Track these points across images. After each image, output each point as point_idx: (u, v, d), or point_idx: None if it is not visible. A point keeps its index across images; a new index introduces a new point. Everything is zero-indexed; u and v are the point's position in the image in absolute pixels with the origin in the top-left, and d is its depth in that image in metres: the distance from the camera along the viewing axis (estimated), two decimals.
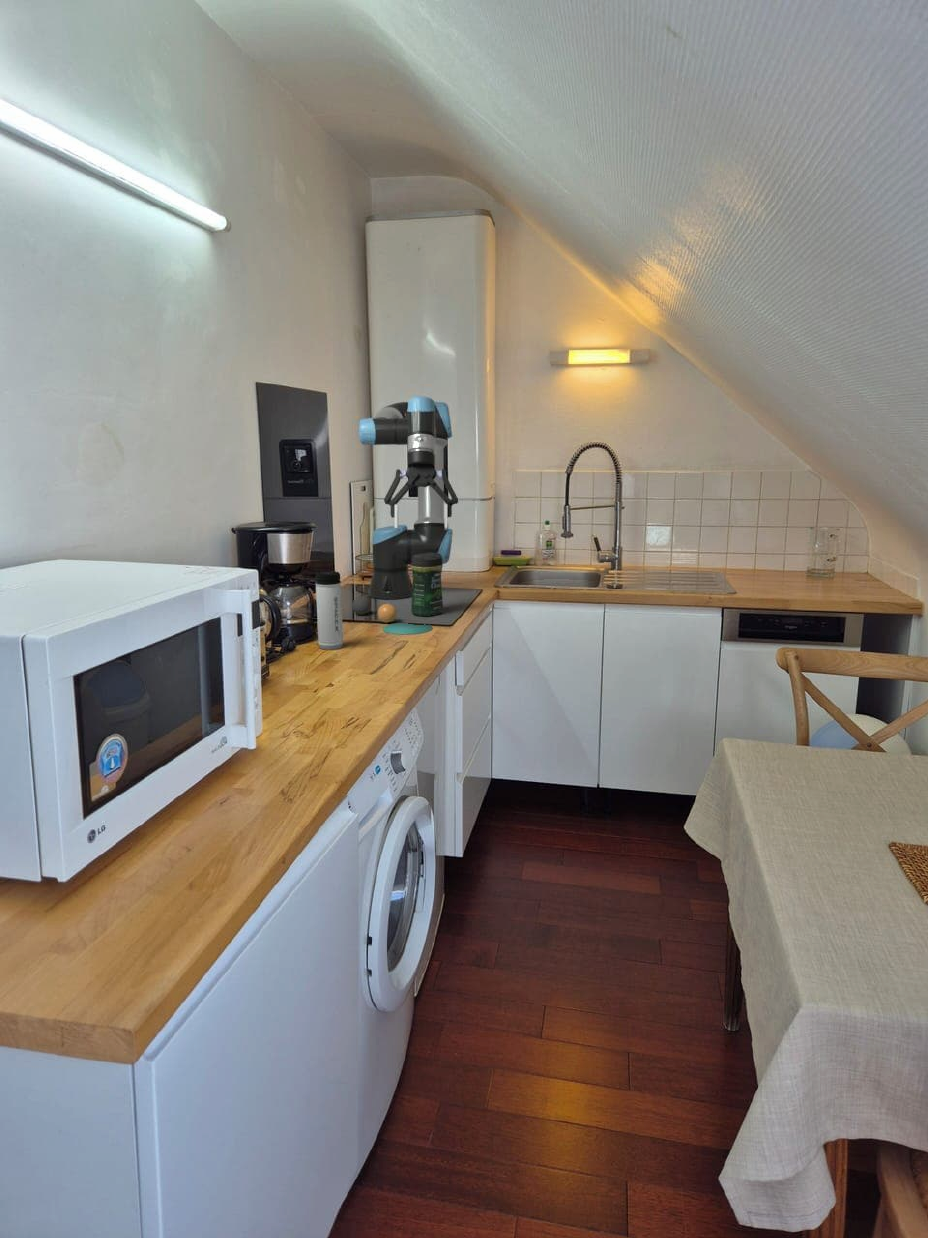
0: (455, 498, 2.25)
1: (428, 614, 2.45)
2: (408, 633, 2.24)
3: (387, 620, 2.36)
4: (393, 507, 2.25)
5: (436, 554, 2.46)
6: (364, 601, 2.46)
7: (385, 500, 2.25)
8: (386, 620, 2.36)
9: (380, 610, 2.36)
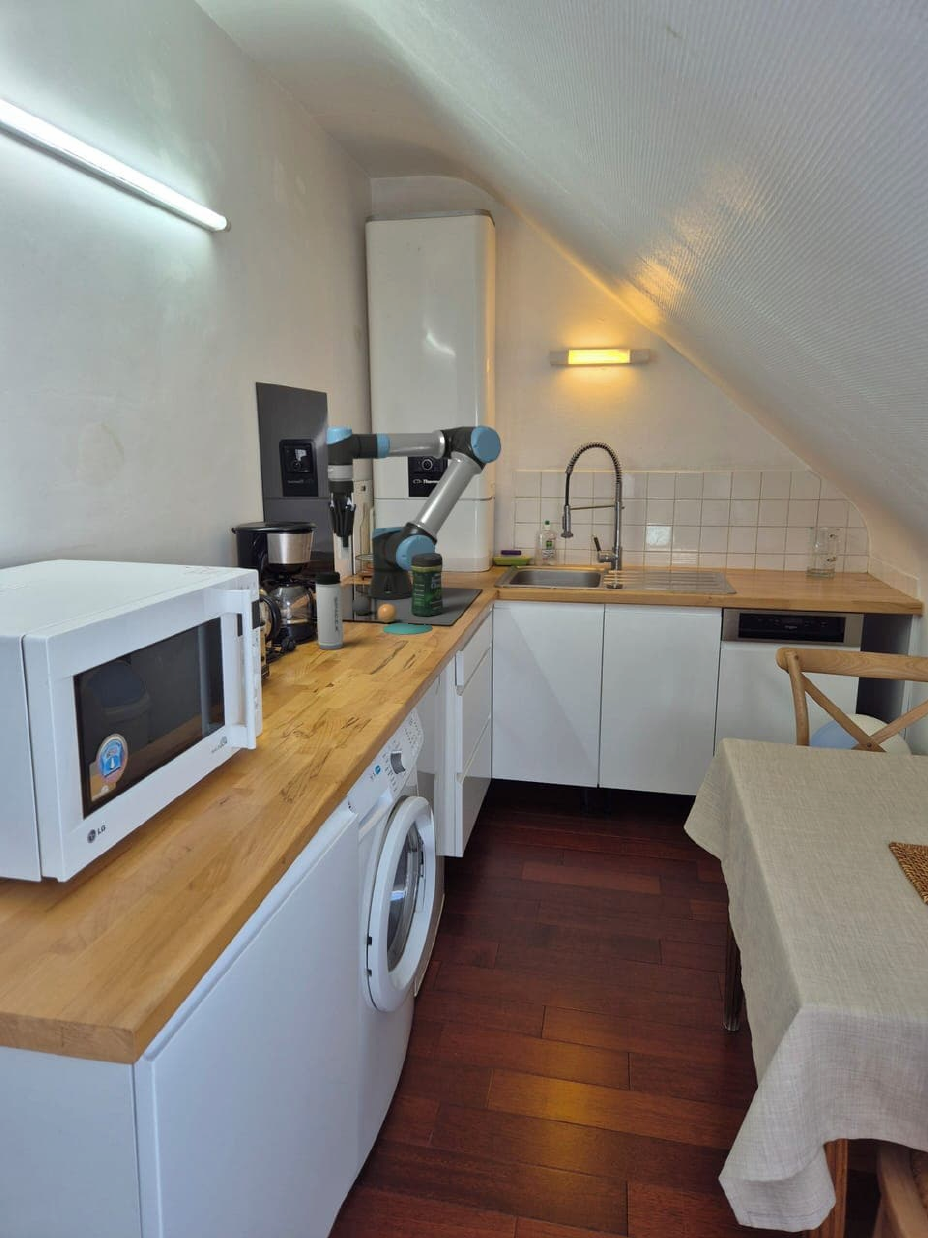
0: (344, 532, 2.47)
1: (428, 614, 2.45)
2: (408, 633, 2.24)
3: (387, 620, 2.36)
4: None
5: (436, 554, 2.46)
6: (364, 601, 2.46)
7: (334, 532, 2.52)
8: (386, 620, 2.36)
9: (380, 610, 2.36)
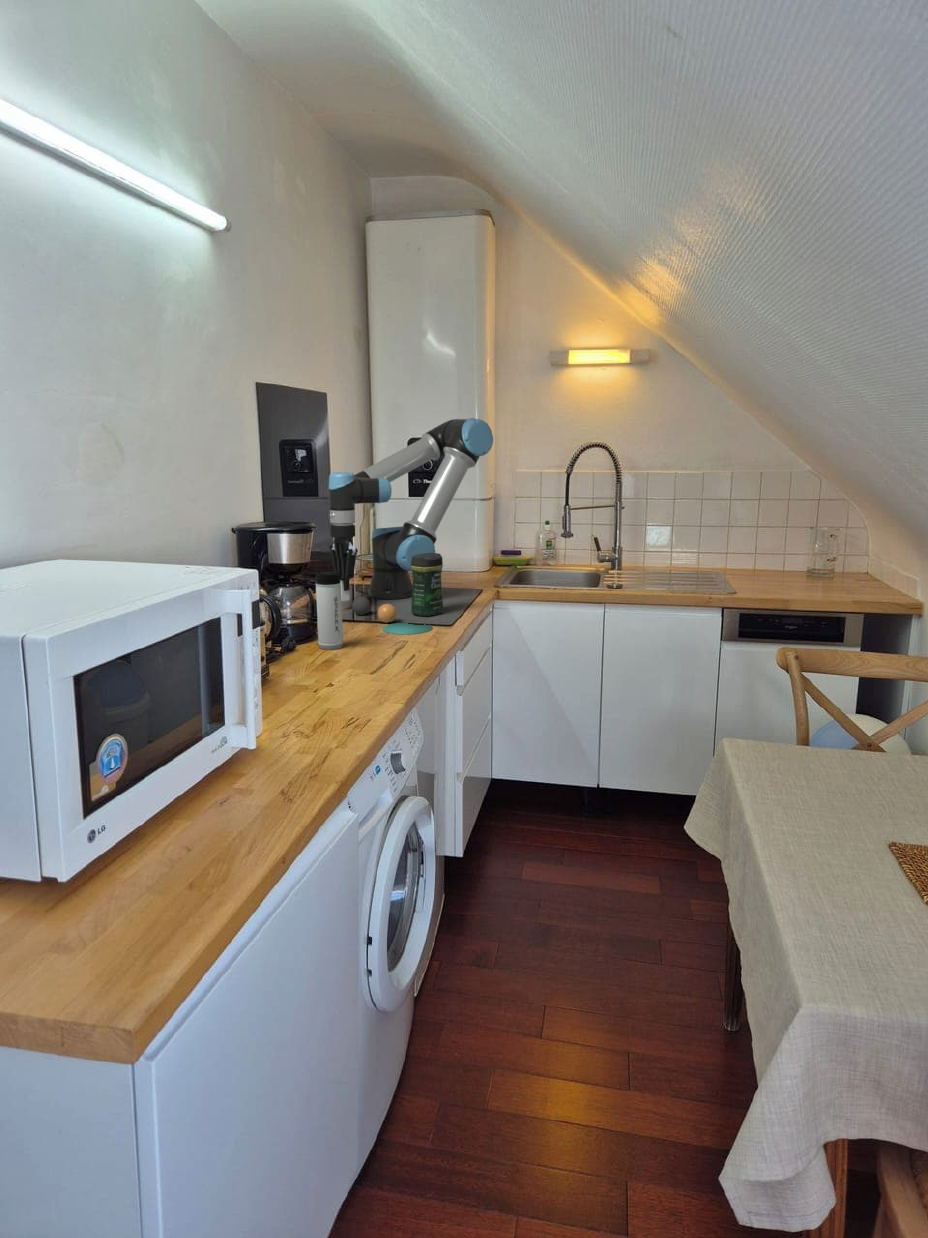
0: (345, 576, 2.50)
1: (428, 614, 2.45)
2: (408, 633, 2.24)
3: (387, 620, 2.36)
4: None
5: (436, 554, 2.46)
6: (364, 601, 2.46)
7: None
8: (386, 620, 2.36)
9: (380, 610, 2.36)
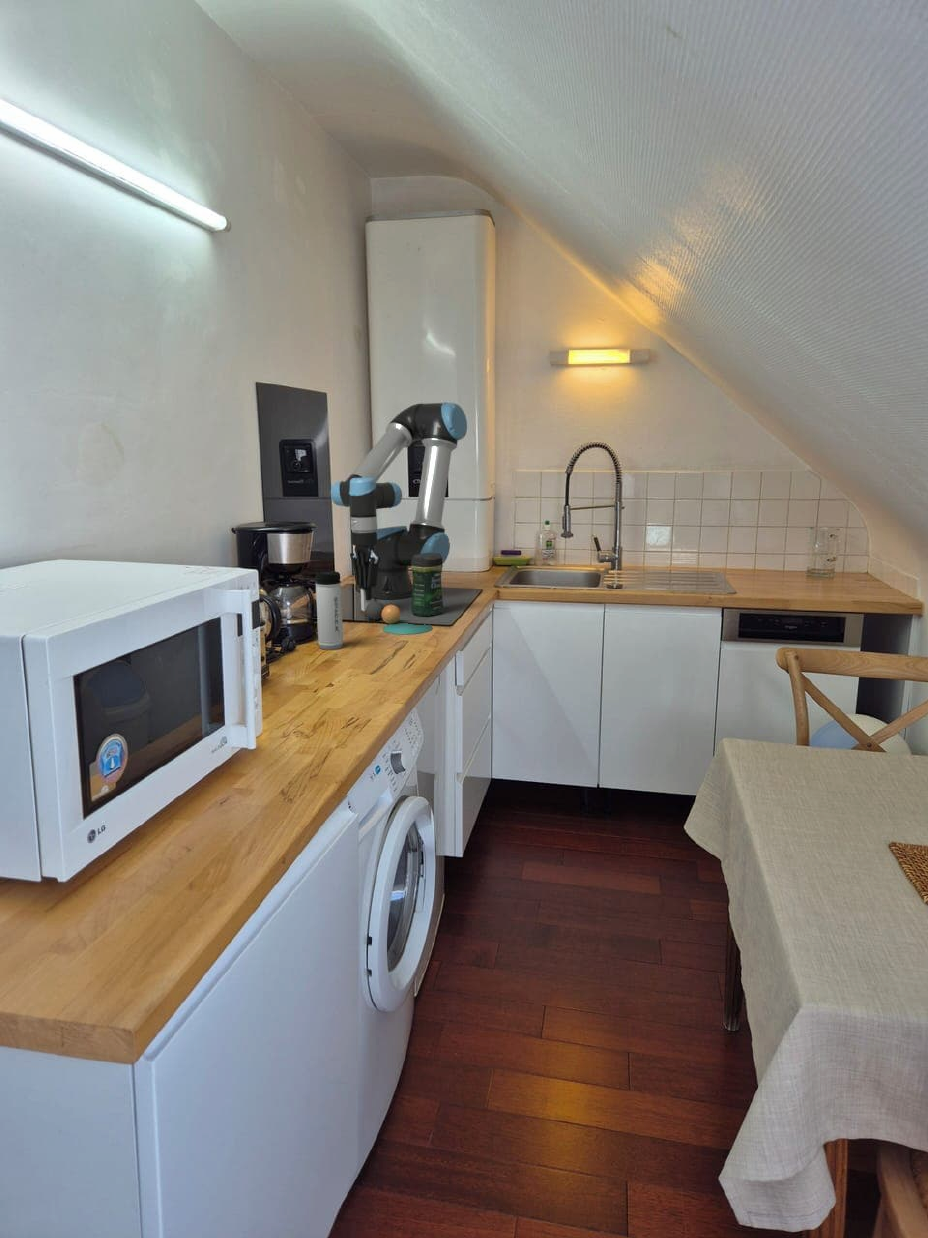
0: (367, 585, 2.41)
1: (428, 614, 2.45)
2: (408, 633, 2.24)
3: (388, 623, 2.36)
4: None
5: (436, 554, 2.46)
6: None
7: (356, 584, 2.46)
8: None
9: (385, 613, 2.34)
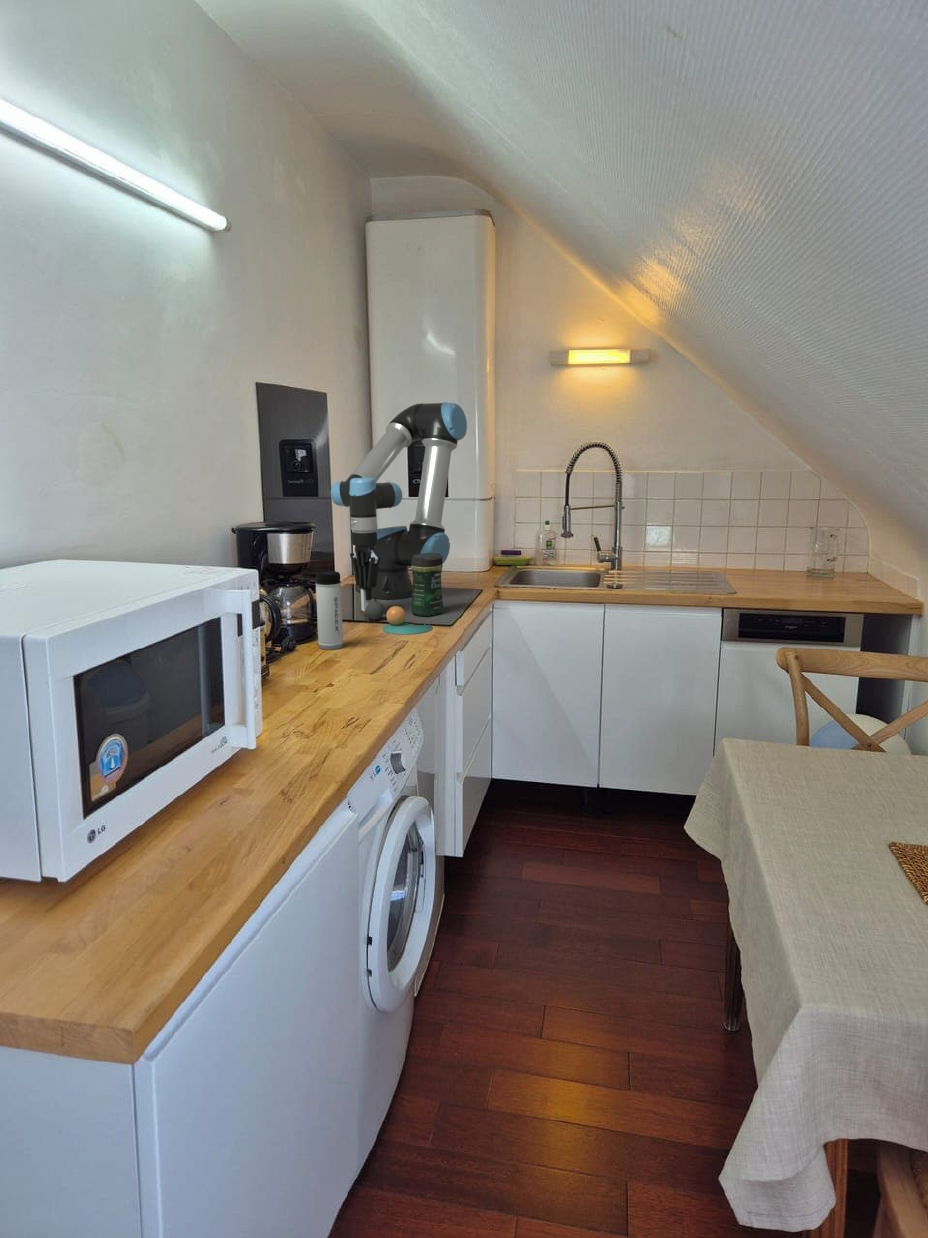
0: (368, 585, 2.41)
1: (428, 614, 2.45)
2: (408, 633, 2.24)
3: None
4: None
5: (436, 554, 2.46)
6: None
7: (356, 584, 2.46)
8: None
9: (391, 618, 2.32)
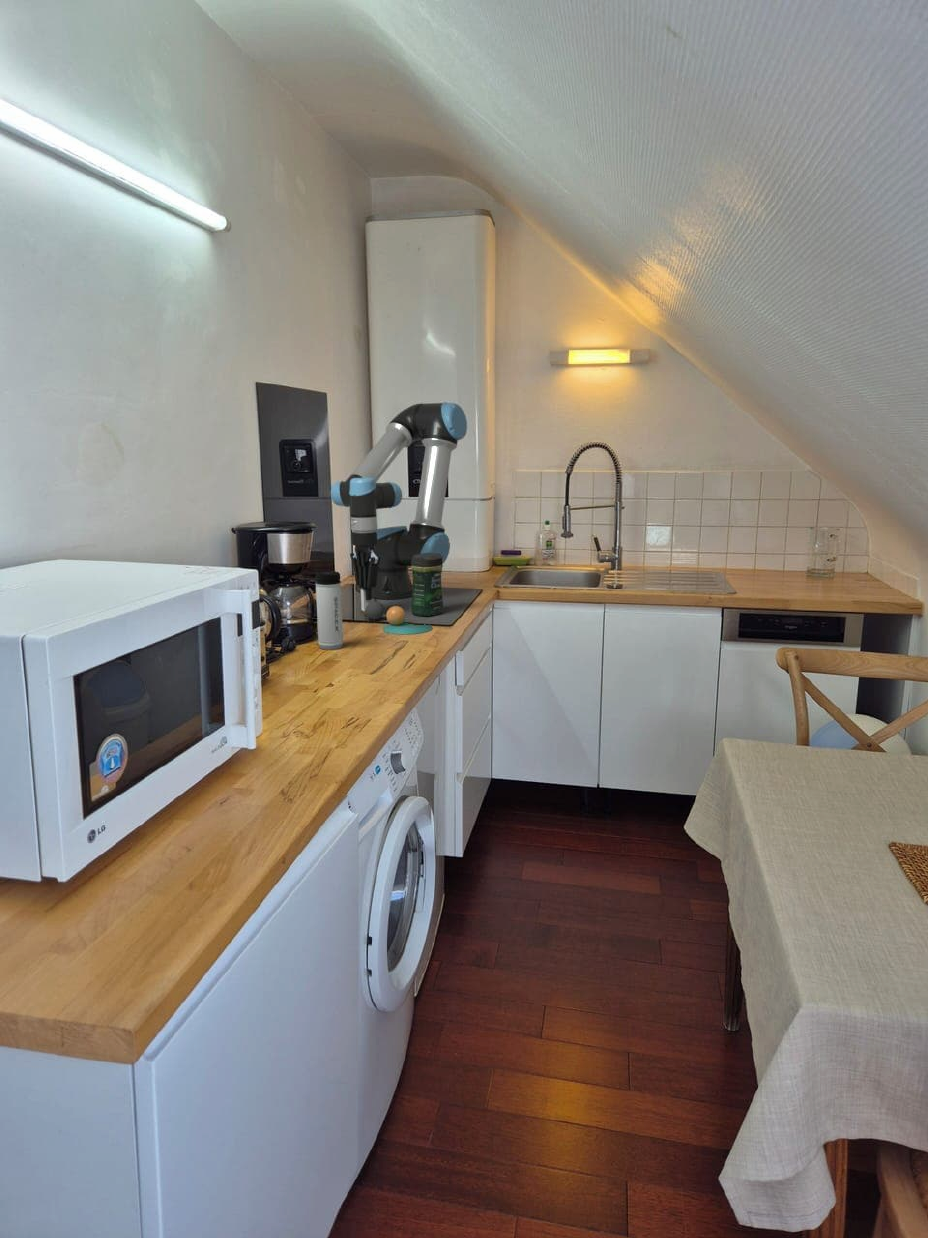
0: (368, 585, 2.41)
1: (428, 614, 2.45)
2: (408, 633, 2.24)
3: None
4: None
5: (436, 554, 2.46)
6: None
7: (356, 584, 2.46)
8: None
9: (391, 618, 2.32)
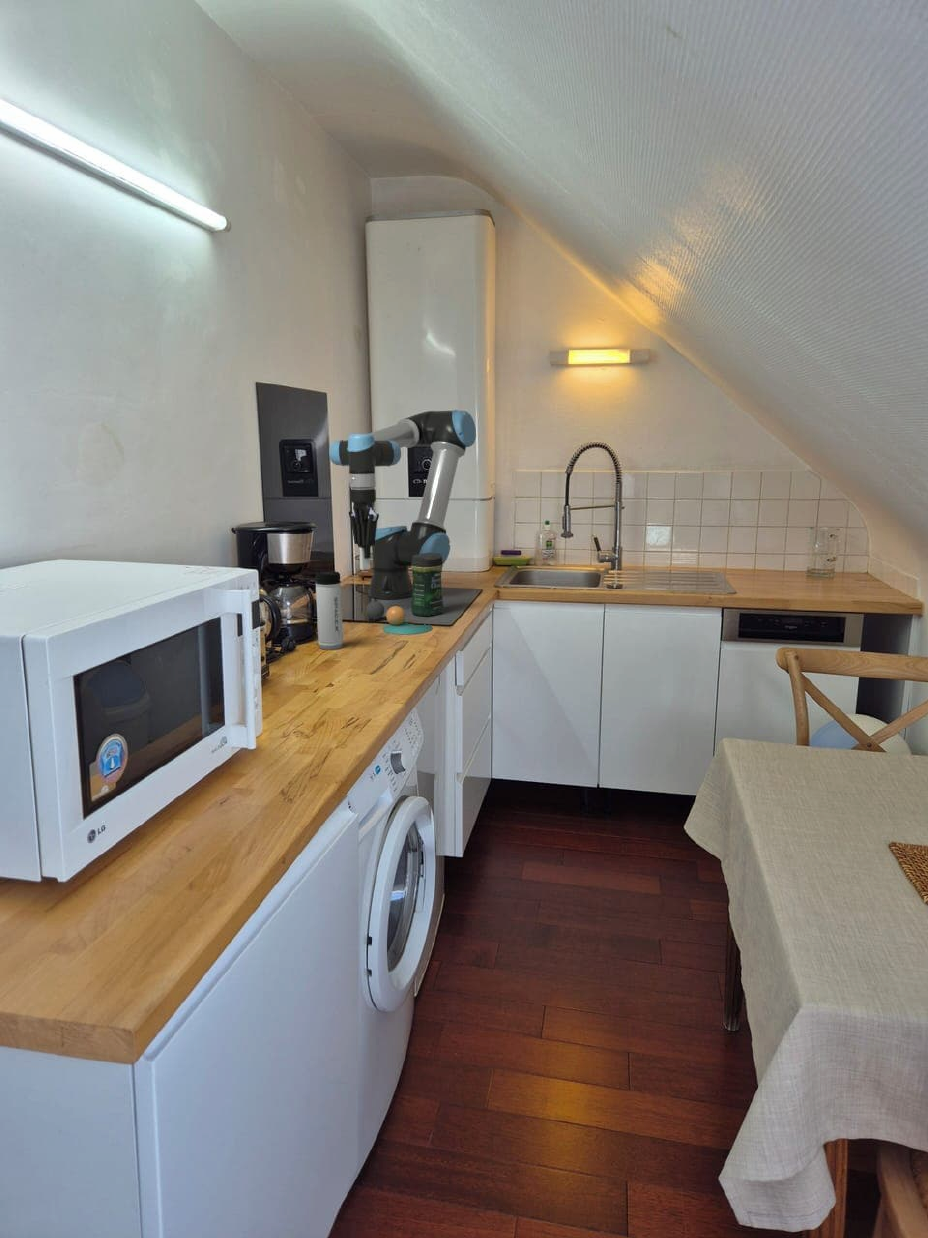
0: (366, 543, 2.39)
1: (428, 614, 2.45)
2: (408, 633, 2.24)
3: None
4: None
5: (436, 554, 2.46)
6: None
7: (355, 542, 2.43)
8: None
9: (391, 618, 2.32)
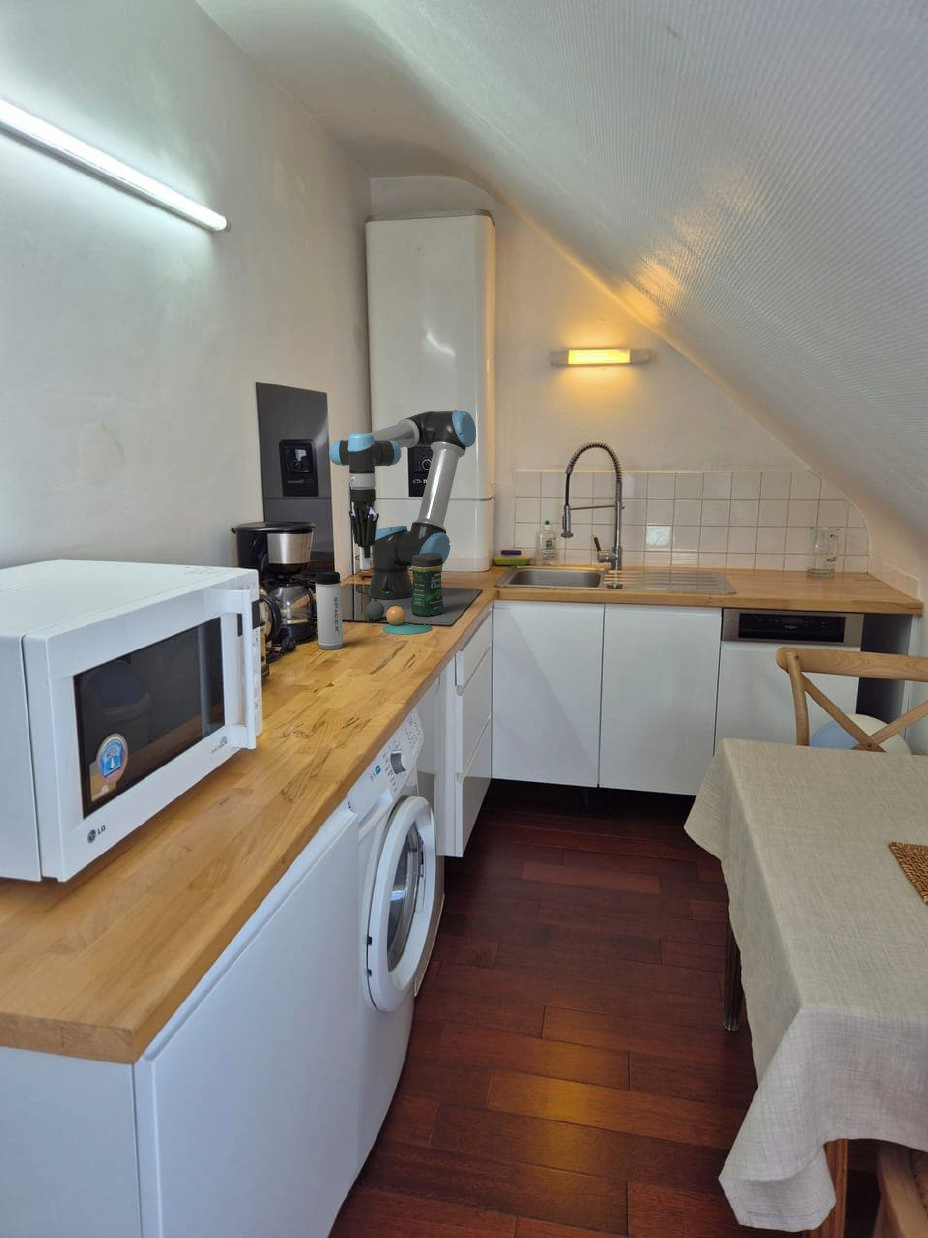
0: (366, 542, 2.39)
1: (428, 614, 2.45)
2: (408, 633, 2.24)
3: None
4: None
5: (436, 554, 2.46)
6: None
7: (355, 542, 2.43)
8: None
9: (391, 618, 2.32)
